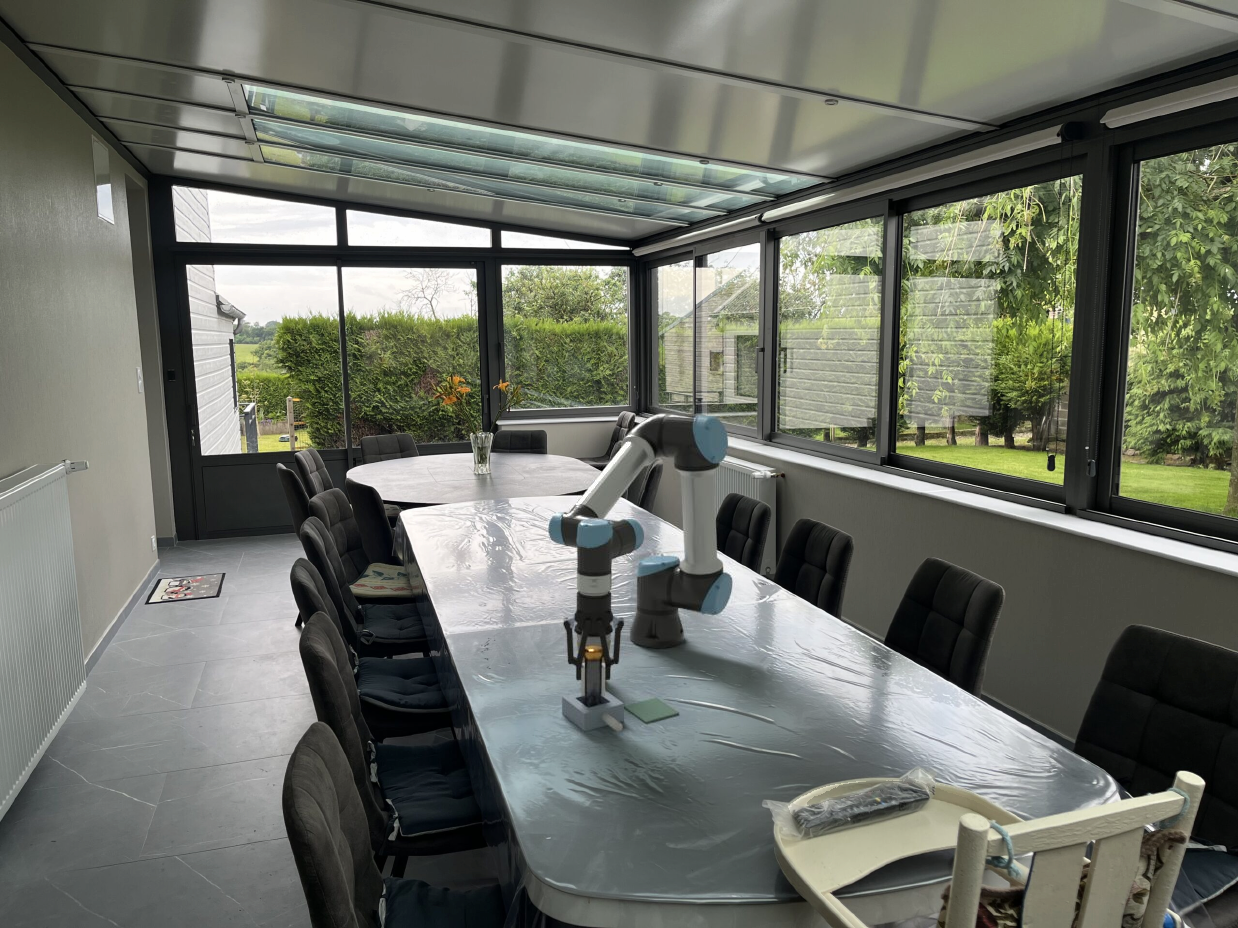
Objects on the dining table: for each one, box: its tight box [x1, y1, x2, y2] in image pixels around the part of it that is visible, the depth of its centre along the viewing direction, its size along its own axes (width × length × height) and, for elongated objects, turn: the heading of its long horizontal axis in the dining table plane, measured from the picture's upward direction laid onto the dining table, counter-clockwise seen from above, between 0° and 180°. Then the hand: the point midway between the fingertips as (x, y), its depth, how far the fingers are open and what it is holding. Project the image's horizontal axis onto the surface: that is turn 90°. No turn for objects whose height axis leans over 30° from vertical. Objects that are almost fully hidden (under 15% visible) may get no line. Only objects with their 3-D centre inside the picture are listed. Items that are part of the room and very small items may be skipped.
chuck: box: [561, 690, 625, 733], centre depth 182 cm, size 16×10×4 cm, turn 32°
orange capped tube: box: [583, 646, 604, 708], centre depth 184 cm, size 5×5×14 cm
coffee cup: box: [573, 623, 614, 663], centre depth 203 cm, size 9×9×15 cm
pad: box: [624, 697, 680, 724], centre depth 188 cm, size 9×9×1 cm
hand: (593, 692), depth 184 cm, fingers closed on orange capped tube, 4 cm apart
